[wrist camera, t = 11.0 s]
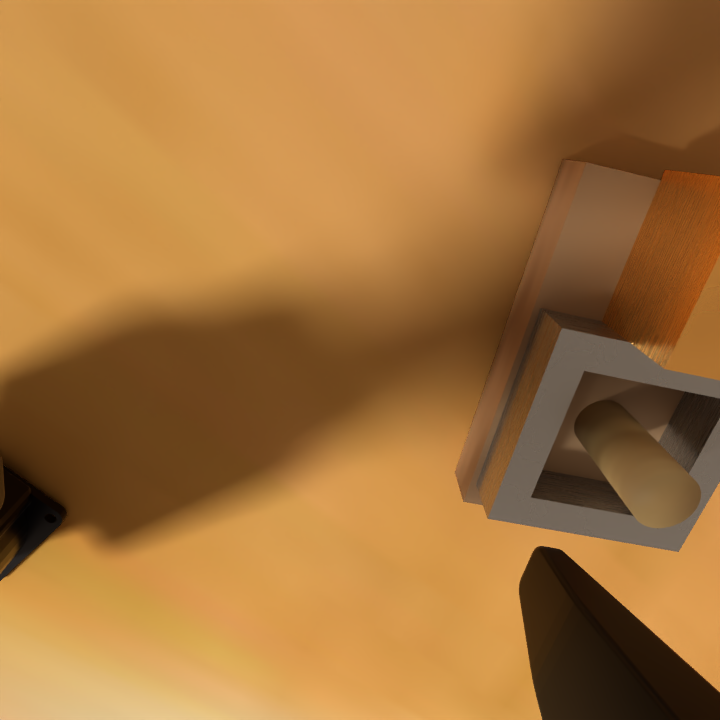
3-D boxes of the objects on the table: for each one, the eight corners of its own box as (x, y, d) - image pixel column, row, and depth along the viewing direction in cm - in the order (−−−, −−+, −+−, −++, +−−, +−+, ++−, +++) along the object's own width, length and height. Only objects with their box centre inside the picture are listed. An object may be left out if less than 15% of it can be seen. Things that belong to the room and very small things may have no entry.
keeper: (626, 503, 24) (718, 628, 18) (455, 472, 23) (489, 591, 17) (776, 210, 19) (975, 247, 13) (562, 159, 18) (665, 171, 12)
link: (650, 515, 21) (711, 595, 18) (476, 484, 21) (501, 560, 17) (817, 206, 17) (948, 227, 13) (597, 153, 16) (669, 159, 12)
